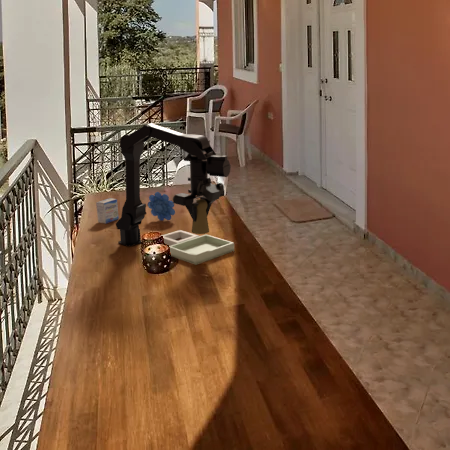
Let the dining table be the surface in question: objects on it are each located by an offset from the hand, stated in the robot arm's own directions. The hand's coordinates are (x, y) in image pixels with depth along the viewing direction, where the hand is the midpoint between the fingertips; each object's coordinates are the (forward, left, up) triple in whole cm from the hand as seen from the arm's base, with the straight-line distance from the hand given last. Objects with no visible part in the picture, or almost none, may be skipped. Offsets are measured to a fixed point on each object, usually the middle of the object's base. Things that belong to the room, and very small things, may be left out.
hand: (200, 220), depth 194 cm
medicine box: (+1, +57, -12) cm, 58 cm away
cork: (0, 0, -4) cm, 4 cm away
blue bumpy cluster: (+15, +40, -12) cm, 44 cm away
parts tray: (0, 0, -12) cm, 12 cm away
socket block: (+2, +14, -12) cm, 18 cm away
